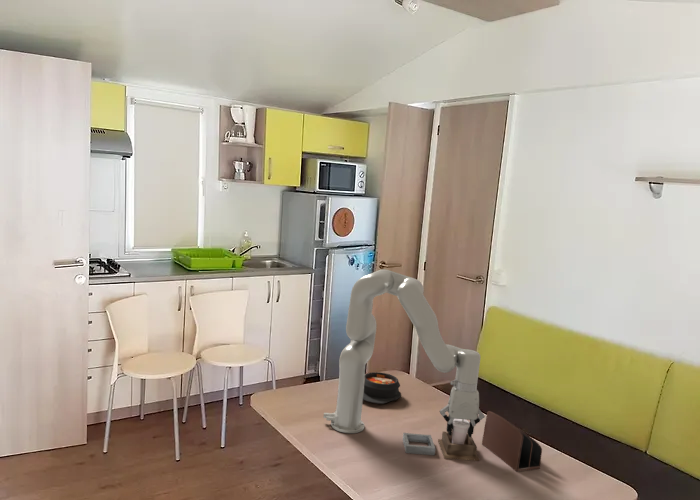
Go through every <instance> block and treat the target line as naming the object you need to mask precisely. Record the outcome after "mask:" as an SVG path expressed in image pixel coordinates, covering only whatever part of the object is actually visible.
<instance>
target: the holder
mask: <svg viewBox="0 0 700 500" xmlns="http://www.w3.org/2000/svg"><path fill="white" fill-rule="evenodd" d="M410 442H413V443H425V444H427V445H418V444H416V445H415V444H410ZM402 443H403V447H404V452H405V453H406V454H415V455H416V454H417V455H426V456H435V455H436V446H435V442H434V440H433V437H432V435H431V434H423V433H422V434H421V433H409V432H403V434H402Z"/></svg>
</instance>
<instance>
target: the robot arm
mask: <svg viewBox="0 0 700 500" xmlns="http://www.w3.org/2000/svg"><path fill="white" fill-rule="evenodd" d="M424 289H425V288H424V285H423V284H422V282H421V281H420V280H419V279H416V278H415V277H411V276H407V275H405V274H401V273H399V272H395V271H392V270H389V269H379V270H376V271H374V272H371V273H369V274H367V275H366V274H365V275H364V276H361V278H359V279H357V280H356V282H354V284H353V286H352V289H351V291H350V297H349V305H348V312H347V317H346V318H347V319H346V324H345V325H346V326H345V331H346V332H345V333H346V335H347V337H348V338H349V339H350V343H348V344H346V346H345V347H344V348H343V349H342V351H341V352H340V356H339V361H338V364H339V367H338V368H339V369H338V370H339V374H338V375H339V377H338V389H337V399H336V400H337V401H336V408H335V411H334V412H332V413H331V412H323V419H326V421H330V426H331V428H332V429H334V430H335V431H337V432H340V433H343V434H344V433H345V434H357V433H360V432H362V431H364V429H365V422H364V421H363V420H362V414H363V413H362V412H363V403H364V400H363V393H364V383H365V374H366V364H367V363H368V362H369V361H370V360H371V358H372V356H373V353H374V348H375V344H376V343H375V341H376V333H377V326H378V324H377V320H376V317H375V315H374V314H373V313H372V311H373V305H374V303H373V302H374V301H373V300H374V299H375V298H376V297H380V296H382V295H384V294H385V293H386V294H389V295H392V296H396V297H397V299H398V301H399V303H400V305H401V307H402V308H403V310H404V311H405V313H406V314H407V317H408V318H409V320H410V321H411V323H412V325H413V327H414V328H415V331H416V334H417V336H418V339H419V341H420V343H421V346H422V348H423V350H424V351H425V352H424V353H425V354H426V355H427V357H428V359H429V360H430V362H431V364H432V365H433V367H434V368H435V369H436V370H437V371H438V372H440V373H444V374H447V373H450V372H452V371H453V370H454V369H455V367H456V372H455V377H454V380H451V381H450V385H451V386H452V387H451V390H450V394H449V398H448V402H447V404H446V405H445V406H444V407H442V408H441V409H440V410H439V414H440V415H441V416H442V418H443V419H444V420H445V421H446V432H448V434H449V435H451V434H452V427H453V425H452V421H453V420H454V418H455V419H465V420H467V421H468V420H469V422H470V427H469V428H468V432H467V434H468V435H469V437H471V436H472V435H473V434H474V431H475V427H476V425H477V424H479V423H480V422H481V421H482V420H483V419H484V418H486V417H485V415H484V413H483V412H482V411H481V410H480V408H479V407H480V393H479V390H478V389H477V388H478V387H477V386H478V379H479V371H480V366H481V365H480V364H481V354H480V353H479V352H478V351H477V350H473V349H469V348H467V349H464V348H461V347H458V346H456V345H453V344H448V343H447V344H446V342H445V341H444V339H443V337H442V334H441V332H440V328H439V321H438V316H437V314H436V312H435V311H434V310H433V308H432V307H431V305H430V304H429V302H428V300H427V298H426V296H425V295H424V291H425V290H424ZM446 412H448V415H447V414H446Z"/></svg>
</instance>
